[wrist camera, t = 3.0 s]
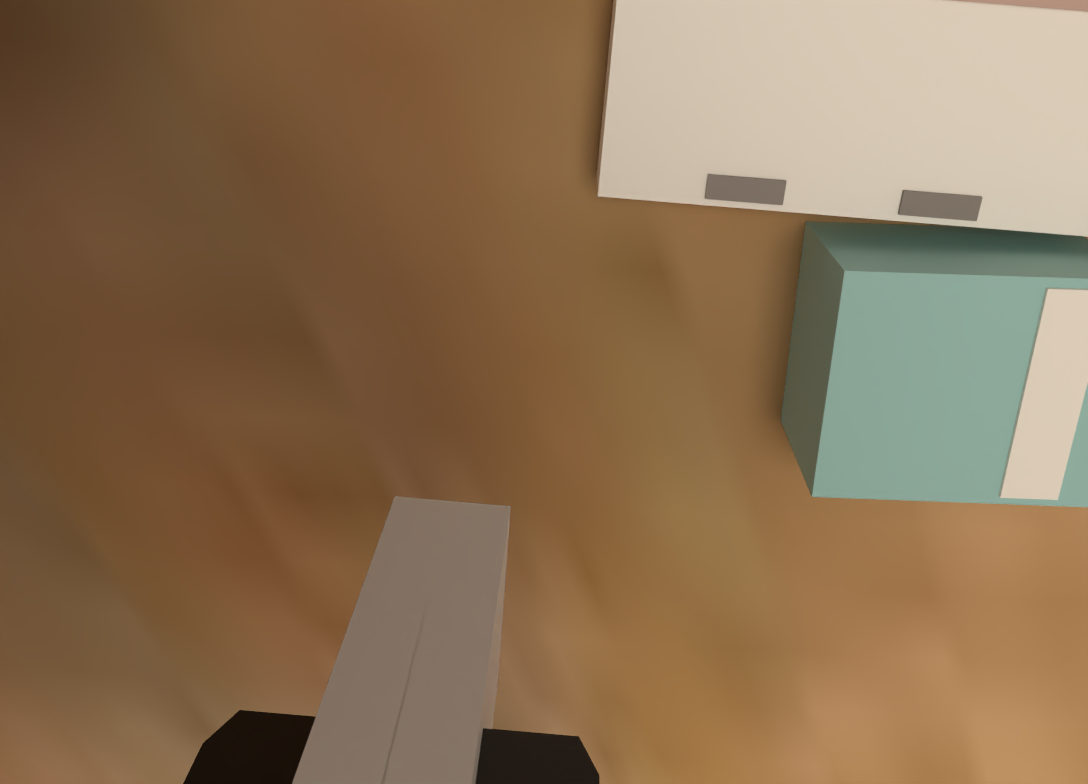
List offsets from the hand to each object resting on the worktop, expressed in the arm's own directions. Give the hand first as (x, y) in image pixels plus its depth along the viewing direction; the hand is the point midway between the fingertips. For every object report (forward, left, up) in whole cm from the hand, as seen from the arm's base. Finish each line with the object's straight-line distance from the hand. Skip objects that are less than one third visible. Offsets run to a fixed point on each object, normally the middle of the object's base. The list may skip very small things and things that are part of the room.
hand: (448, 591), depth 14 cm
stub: (+10, 0, -12) cm, 16 cm away
